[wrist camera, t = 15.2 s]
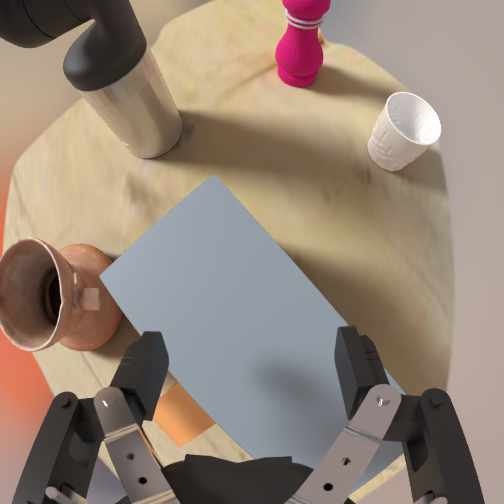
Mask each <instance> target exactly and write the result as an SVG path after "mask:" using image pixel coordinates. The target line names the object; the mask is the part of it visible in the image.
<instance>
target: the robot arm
mask: <svg viewBox="0 0 504 504" xmlns="http://www.w3.org/2000/svg"><path fill="white" fill-rule="evenodd" d="M90 19H95V21H94V23H93V24H92V25H91V26H90V27H89V28H88V29H87V30H86V31H84V32H83V33H82V34H81V35H80V36H79V37H78V38H77V39H76V41H75V42H74V43H73V44H72V46H71V47H70V48H69V50H68V52H67V54H66V56H65V59H64V63H63V70H64V74H65V76H66V77H67V79H68V80H69V81H70V82H71V84H72V85H73V86H74V87H75V88H76V89H77V90H78V92H79V93H80V94H81V95H82V96H83V97H84V99H85V100H86V101H87V102H88V103H89V104H90V105H91V106H92V108H93V109H94V110H95V111H96V112H97V113H98V115H99V116H100V117H101V118H102V119H103V120H104V122H105V123H106V124H107V125H108V126H109V127H110V129H111V130H112V131H113V132H114V133H115V134H116V135H117V137H118V138H119V139H120V140H121V141H122V142H123V144H124V145H125V146H126V147H127V148H128V149H129V150H130V152H132V153H133V154H134V155H135V156H137V157H140V158H154V157H158V156H160V155H163V154H164V153H166V152H168V151H169V150H170V149H171V148H173V147H174V146H175V144H176V143H177V142H178V140H179V138H180V137H181V134H182V131H183V122H182V119H181V117H180V114H179V112H178V110H177V108H176V105H175V103H174V101H173V98H172V96H171V94H170V92H169V89H168V87H167V85H166V83H165V81H164V78H163V76H162V74H161V72H160V69H159V67H158V65H157V63H156V60H155V58H154V56H153V54H152V52H151V50H150V47H149V45H148V43H147V41H146V39H145V37H144V34H143V32H142V30H141V28H140V25H139V23H138V21H137V18H136V16H135V14H134V11H133V9H132V7H131V4H130V2H129V0H0V37H1V38H3V39H4V40H6V41H8V42H10V43H12V44H14V45H17V46H19V47H23V48H35V47H39V46H42V45H44V44H46V43H48V42H50V41H52V40H54V39H56V38H57V37H59V36H61V35H63V34H64V33H66V32H68V31H70V30H72V29H73V28H75V27H77V26H79V25H81V24H83V23H85V22H87V21H89V20H90ZM334 361H335V366H336V370H337V375H338V379H339V383H340V388H341V392H342V396H343V401H344V405H345V410H346V415H347V419H348V421H349V420H351V422H350V423H349V425H348V426H347V427H345V428H344V429H343V430H342V432H341V433H340V434H339V436H338V437H337V439H336V440H335V442H334V443H333V445H332V446H331V448H330V449H329V450H328V452H327V453H326V454H325V456H324V457H323V459H322V460H321V461H320V463H319V464H318V465H317V467H316V468H315V469H312V468H310V467H308V466H306V465H303V464H299V463H294V462H292V456H283V457H264V458H259V459H255V460H250V461H246V462H241V463H235V462H231V461H227V460H223V459H219V458H216V457H212V456H202V455H190V454H186V456H185V461H179V462H175V463H172V464H170V465H167V466H164V464H163V463H162V461H161V460H160V458H159V457H158V455H157V453H156V451H155V450H154V448H153V446H152V444H151V442H150V440H149V439H148V437H147V435H146V433H145V431H144V429H143V427H142V424H143V421H144V420H148V421H152V420H153V416H154V413H155V409H156V406H157V403H158V400H159V396H160V393H161V390H162V386H163V383H164V380H165V377H166V374H167V371H168V367H169V355H168V352H167V349H166V346H165V342H164V339H163V336H162V333H161V332H160V331H144V332H143V334H142V336H141V338H140V341H134V342H133V343H132V344H131V345H130V346H129V347H128V348H127V350H126V352H125V354H124V358H122V360H121V362H120V363H121V364H120V365H119V367H118V369H117V371H116V373H115V375H114V377H113V380H112V382H111V384H110V386H109V387H107V388H104V389H102V390H100V391H99V392H98V393H97V394H96V395H95V397H94V398H86V399H78V398H77V396H76V395H75V394H74V393H72V392H62V393H60V394H58V395H57V396H56V397H55V398H54V400H53V401H52V404H51V406H50V408H49V410H48V412H47V414H46V416H45V419H44V421H43V423H42V425H41V428H40V430H39V432H38V435H37V437H36V439H35V442H34V444H33V446H32V449H31V452H30V454H29V456H28V459H27V461H26V464H25V467H24V469H23V472H22V475H21V478H20V480H19V483H18V486H17V489H16V492H15V495H14V498H13V501H12V504H89V503H88V501H87V500H86V496H87V492H88V488H89V484H90V480H91V477H92V473H93V469H94V466H95V462H96V459H97V455H98V452H99V448H100V445H101V442H102V441H104V442H105V445H106V448H107V450H108V453H109V455H110V458H111V460H112V462H113V465H114V467H115V469H116V472H117V474H118V476H119V478H120V480H121V483H122V485H123V487H124V489H125V491H126V493H127V495H126V496H125V497H124V498H122V499H121V500H120V501H118V502H117V503H115V504H355V503H354V502H353V501H352V500H350V499H349V498H348V496H349V495H350V493H351V492H352V490H353V489H354V487H355V486H356V484H357V483H358V481H359V479H360V478H361V476H362V475H363V473H364V471H365V470H366V468H367V466H368V465H369V463H370V461H371V459H372V458H373V456H374V454H375V452H376V451H377V449H378V447H379V445H380V443H381V441H394V442H402V447H403V451H404V456H405V461H406V465H407V470H408V475H409V481H410V486H411V492H412V497H413V503H414V504H485V503H484V499H483V495H482V491H481V487H480V483H479V480H478V476H477V473H476V469H475V467H474V463H473V460H472V457H471V453H470V451H469V447H468V444H467V442H466V439H465V436H464V433H463V430H462V428H461V425H460V423H459V420H458V417H457V414H456V412H455V409H454V407H453V404H452V402H451V399H450V397H449V395H448V394H447V393H446V392H444V391H443V390H440V389H436V388H433V389H428V390H426V391H425V392H424V393H423V394H422V396H409V395H403V394H400V392H399V391H398V390H397V389H396V388H395V387H393V386H391V385H390V383H389V381H388V378H387V375H386V373H385V370H384V367H383V365H382V362H381V360H380V357H379V355H378V353H377V350H376V347H375V345H374V342H373V341H372V340H371V339H369V338H368V337H367V336H366V335H365V336H359V335H358V332H357V329H356V327H355V326H354V325H352V326H341V327H338V329H337V336H336V343H335V350H334Z"/></svg>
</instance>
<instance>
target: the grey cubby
mask: <svg viewBox="0 0 504 504" xmlns="http://www.w3.org/2000/svg"><path fill="white" fill-rule="evenodd" d="M99 277H100V279H101V280H102V282H103V283H104V285H105V286H106V288H107V289H108V291H109V292H110V294H111V295H112V297H113V298H114V300H115V301H116V303H117V304H118V306H119V307H120V308H121V310H122V311H123V313H124V314H125V315H126V317H127V318H128V320H129V321H130V322H131V324H132V325H133V326H134V328H135V329H136V330H137V332H138V333H139V334H140V336H142V334H143V332H144V331H160V332H161V333H162V336H163V339H164V342H165V346H166V349H167V352H168V355H169V367H168V371H169V372H170V373H171V374H172V375H173V377H174V378H175V379H176V380H177V381H178V382H179V383H180V385H181V386H182V387H183V388H184V389H185V390H186V391H187V393H188V394H189V395H190V396H191V397H192V398H193V399H194V400H195V401H196V402H197V404H198V405H199V406H200V407H201V408H202V409H203V410H204V411H205V412H206V413H207V414H208V415H209V416H210V417H211V418H212V419H213V420H214V421H215V422H216V423H217V424H218V425H219V426H220V427H221V428H222V429H223V430H224V431H225V432H226V433H227V434H228V435H229V436H230V437H231V438H232V439H233V440H234V441H235V442H236V443H237V444H238V445H239V446H240V447H241V448H242V449H243V450H244V451H246V452H247V453H248V454H249V455H250V456H251V457H252V458H253V459H254V460H255V459H259V458H264V457H283V456H292V462H294V463H299V464H303V465H306V466H308V467H310V468H312V469H315V468H316V467H317V465H318V464H319V463H320V461H321V460H322V459H323V457H324V456H325V454H326V453H327V452H328V450H329V449H330V448H331V446H332V445H333V443H334V442H335V440H336V439H337V437H338V436H339V434H340V433H341V432H342V430H343V429H344V428H345V427H347V426H348V425H349V423H350V422H351V420H349V421H348V419H347V415H346V410H345V405H344V401H343V396H342V392H341V388H340V383H339V379H338V375H337V370H336V366H335V361H334V350H335V343H336V336H337V329H338V327H341V326H349V325H348V324H347V323H346V322H345V320H344V319H343V318H342V317H341V316H340V315H339V313H338V312H337V311H336V310H335V309H334V308H333V306H332V305H331V304H330V303H329V302H328V301H327V300H326V298H325V297H324V296H323V295H322V294H321V293H320V291H319V290H318V289H317V288H316V287H315V286H314V285H313V283H312V282H311V281H310V280H309V279H308V278H307V277H306V275H305V274H304V273H303V272H302V271H301V270H300V269H299V267H298V266H297V265H296V264H295V263H294V262H293V261H292V259H291V258H290V257H289V256H288V255H287V254H286V253H285V252H284V250H283V249H282V248H281V247H280V246H279V245H278V244H277V243H276V241H275V240H274V239H273V238H272V237H271V236H270V235H269V234H268V232H267V231H266V230H265V229H264V228H263V227H262V226H261V225H260V224H259V222H258V221H257V220H256V219H255V218H254V217H253V216H252V215H251V214H250V212H249V211H248V210H247V209H246V208H245V207H244V206H243V205H242V204H241V203H240V201H239V200H238V199H237V198H236V197H235V196H234V195H233V194H232V193H231V192H230V191H229V189H228V188H227V187H226V186H225V185H224V184H223V183H222V182H221V181H220V180H219V179H218V177H217V176H216V175H215V174H213V175H212V176H211V177H209V178H208V179H207V180H206V181H204V182H203V183H202V184H201V185H200V186H198V187H197V188H196V189H195V190H194V191H192V192H191V193H190V194H189V195H188V196H186V197H185V198H184V199H183V200H182V201H181V202H179V203H178V204H177V205H176V206H175V207H174V208H172V209H171V210H170V211H169V212H168V213H167V214H166V215H164V216H163V217H162V218H161V219H160V220H159V221H158V222H156V223H155V224H154V225H153V226H152V227H151V228H150V229H149V230H148V231H146V232H145V233H144V234H143V235H142V236H141V237H140V238H139V239H138V240H137V241H136V242H134V243H133V244H132V245H131V246H130V247H129V248H128V249H127V250H126V251H125V252H124V253H123V254H122V255H121V256H120V257H119V258H117V259H116V260H115V261H114V262H113V263H112V264H111V265H110V266H109V267H108V268H107V269H106V270H105V271H104V272H103V273H102V274H101V275H100V276H99ZM384 370H385V373H386V375H387V378H388V381H389V383H390V385H391V386H393V387H395V388H396V389H397V390H398V391H399V392H400V394H403V395H406V393H405V392H404V391H403V390H402V389H401V387H400V386H399V385H398V384H397V382H396V381H395V380H394V379H393V378H392V376H391V375H390V374H389V373H388V372H387V370H386V369H385V368H384ZM403 453H404V451H403V447H402V442H394V441H381V443H380V445H379V447H378V449H377V451H376V452H375V454H374V456H373V458H372V459H371V461H370V463H369V465H368V466H367V468H366V470H365V471H364V473H363V475H362V476H361V478H360V479H359V481H358V483H357V484H356V486H355V487H354V489H353V490H352V492H351V493H353V492H354V491H356V490H357V489H359V488H360V487H361V486H363V485H364V484H366V483H367V482H368V481H370V480H371V479H372V478H374V477H375V476H376V475H377V474H379V473H380V472H381V471H382V470H384V469H385V468H386V467H387V466H389V465H390V464H391V463H392V462H393V461H395V460H396V459H397V458H398V457H399V456H400V455H402V454H403ZM351 493H350V494H351Z"/></svg>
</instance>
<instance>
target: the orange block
mask: <svg viewBox="0 0 504 504" xmlns="http://www.w3.org/2000/svg"><path fill="white" fill-rule="evenodd" d="M153 420H154V421H155V422H156V423H157V424H158V425H159V426H160V428H161V429H162V430H163V431H164V432H165V433H166V434H167V435H168V436H169V437H170V438H171V439H172V440H173V441H174V442H175V443H176V444H177V445H178V446H179V447H181V446H182V445H184V444H185V443H187V442H189V441H190V440H192V439H193V438H195V437H196V436H198V435H199V434H201V433H202V432H204V431H205V430H207V429H208V428H210V427H211V426H213V425H214V424H216V422H215V421H214V420H213V419H212V418H211V417H210V416H209V415H208V414H207V413H206V412H205V411H204V410H203V409H202V408H201V407H200V406H199V405H198V404H197V402H196V401H195V400H194V399H193V398H192V397H191V396H190V395H189V394H188V393H187V391H186V390H185V389H184V388H183V387H182V386H181V385H180V383H179V382H177V383H175V384H174V385H173V386H172V387H171V388H170V389H169V390H168V391H167V392H166V393H165V394H164V395H162V396H161V397H160V398H159V400H158V403H157V406H156V409H155V413H154V416H153Z"/></svg>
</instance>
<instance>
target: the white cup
mask: <svg viewBox="0 0 504 504" xmlns="http://www.w3.org/2000/svg"><path fill="white" fill-rule="evenodd" d="M440 135H441V124H440V120H439V118H438V116H437V114H436V112H435V111H434V109H433V108H432V107H431V106H430V105H429V104H428V103H427V102H426V101H425V100H423V99H422V98H420V97H419V96H417V95H414V94H412V93H408V92H397V93H394V94H392V95H391V96H390V97H389V98H388V100H387V102H386V104H385V106H384V108H383V110H382V112H381V114H380V116H379V118H378V120H377V122H376V124H375V126H374V128H373V131H372V134H371V136H370V138H369V141H368V143H367V145H368V153H369V155H370V156H371V158H372V160H373V161H374V162H375V163H376V164H377V165H378V166H379V167H381V168H382V169H385V170H388V171H399V170H401V169H402V168H403V167H404V166H406V165H407V164H408V163H411V162H412V161H413V160H415V159H416V158H417V157H418V156H420V155H421V154H422V153H423V152H425V151H426V150H427V149H428V148H429V147H431V146H432V145H433V144H434V143H435V142H436V141H437V140H438V139H439V137H440Z"/></svg>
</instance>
